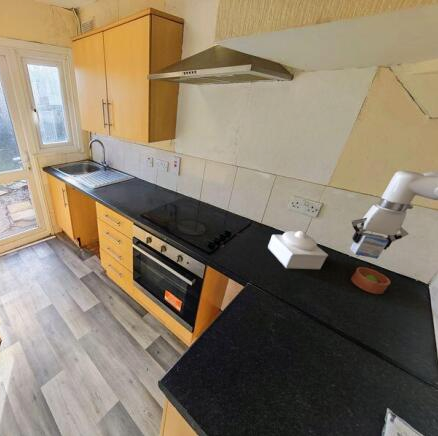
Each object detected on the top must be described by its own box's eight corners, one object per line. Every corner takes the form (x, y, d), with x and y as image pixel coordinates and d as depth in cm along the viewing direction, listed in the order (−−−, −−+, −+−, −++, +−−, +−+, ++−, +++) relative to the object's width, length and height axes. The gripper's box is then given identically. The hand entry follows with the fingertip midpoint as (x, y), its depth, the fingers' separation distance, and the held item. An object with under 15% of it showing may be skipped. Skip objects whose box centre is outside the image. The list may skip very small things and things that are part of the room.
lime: (371, 283, 102) (377, 274, 100) (375, 290, 98) (382, 281, 96) (358, 279, 104) (363, 271, 102) (361, 286, 100) (367, 277, 98)
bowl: (377, 282, 104) (384, 272, 101) (387, 298, 95) (395, 288, 92) (347, 274, 108) (353, 264, 105) (354, 289, 99) (361, 278, 96)
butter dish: (297, 248, 126) (308, 223, 119) (320, 269, 110) (335, 242, 103) (267, 247, 125) (276, 222, 118) (286, 268, 109) (298, 241, 101)
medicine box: (354, 254, 92) (364, 236, 88) (349, 248, 96) (359, 231, 92) (377, 259, 90) (389, 240, 86) (371, 253, 94) (382, 235, 90)
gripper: (418, 207, 83) (392, 246, 91) (359, 197, 89) (340, 234, 97) (430, 214, 77) (401, 256, 85) (366, 203, 83) (344, 242, 91)
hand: (368, 244), depth 91 cm, fingers closed on medicine box, 8 cm apart
